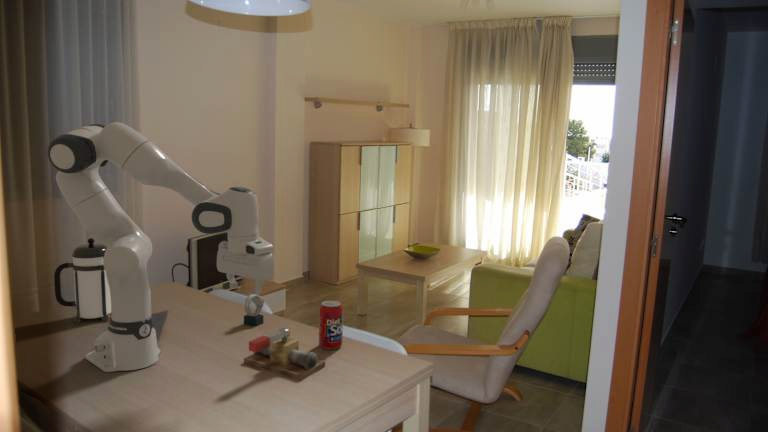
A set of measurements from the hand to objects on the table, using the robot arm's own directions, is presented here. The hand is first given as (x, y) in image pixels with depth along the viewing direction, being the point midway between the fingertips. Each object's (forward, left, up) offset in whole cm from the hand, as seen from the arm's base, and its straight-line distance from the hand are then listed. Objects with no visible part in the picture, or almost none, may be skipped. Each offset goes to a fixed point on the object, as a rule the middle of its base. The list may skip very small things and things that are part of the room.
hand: (245, 290), depth 166 cm
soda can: (+9, +30, -25) cm, 40 cm away
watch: (-27, +32, -25) cm, 49 cm away
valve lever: (+6, +4, -16) cm, 17 cm away
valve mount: (+6, +10, -25) cm, 28 cm away
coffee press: (-79, +2, -25) cm, 83 cm away
